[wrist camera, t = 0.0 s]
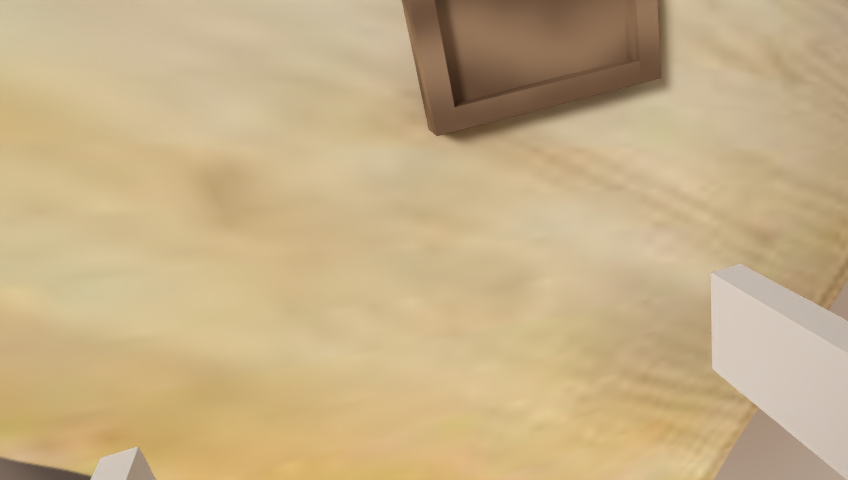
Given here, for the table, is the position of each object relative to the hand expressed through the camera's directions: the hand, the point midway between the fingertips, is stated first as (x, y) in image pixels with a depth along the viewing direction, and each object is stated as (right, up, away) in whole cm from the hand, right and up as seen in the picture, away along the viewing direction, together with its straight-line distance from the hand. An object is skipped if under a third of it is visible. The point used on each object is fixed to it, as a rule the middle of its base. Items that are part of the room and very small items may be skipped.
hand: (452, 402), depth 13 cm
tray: (+6, +21, +24) cm, 32 cm away
